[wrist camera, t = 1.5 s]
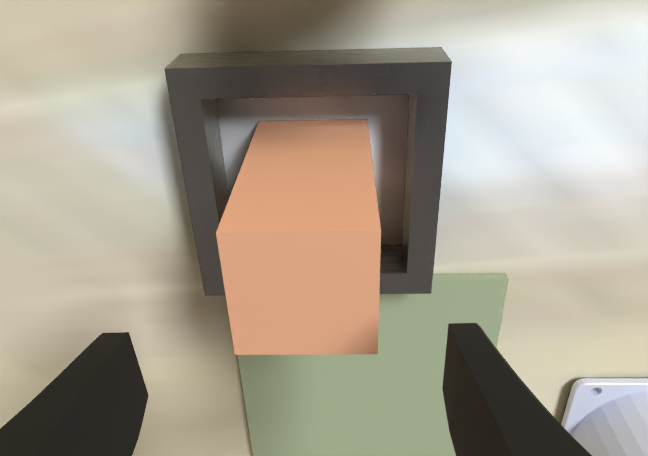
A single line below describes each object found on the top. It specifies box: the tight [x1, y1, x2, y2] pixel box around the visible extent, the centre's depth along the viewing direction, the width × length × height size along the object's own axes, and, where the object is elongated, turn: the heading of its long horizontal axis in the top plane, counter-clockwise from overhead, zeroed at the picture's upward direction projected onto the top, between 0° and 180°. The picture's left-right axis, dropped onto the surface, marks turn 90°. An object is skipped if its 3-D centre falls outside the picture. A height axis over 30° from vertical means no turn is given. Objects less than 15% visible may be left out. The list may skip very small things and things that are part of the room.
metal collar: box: [165, 47, 452, 295], centre depth 20 cm, size 9×9×2 cm
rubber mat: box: [238, 274, 508, 456], centre depth 26 cm, size 12×12×1 cm
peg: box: [216, 119, 381, 355], centre depth 17 cm, size 4×4×8 cm
